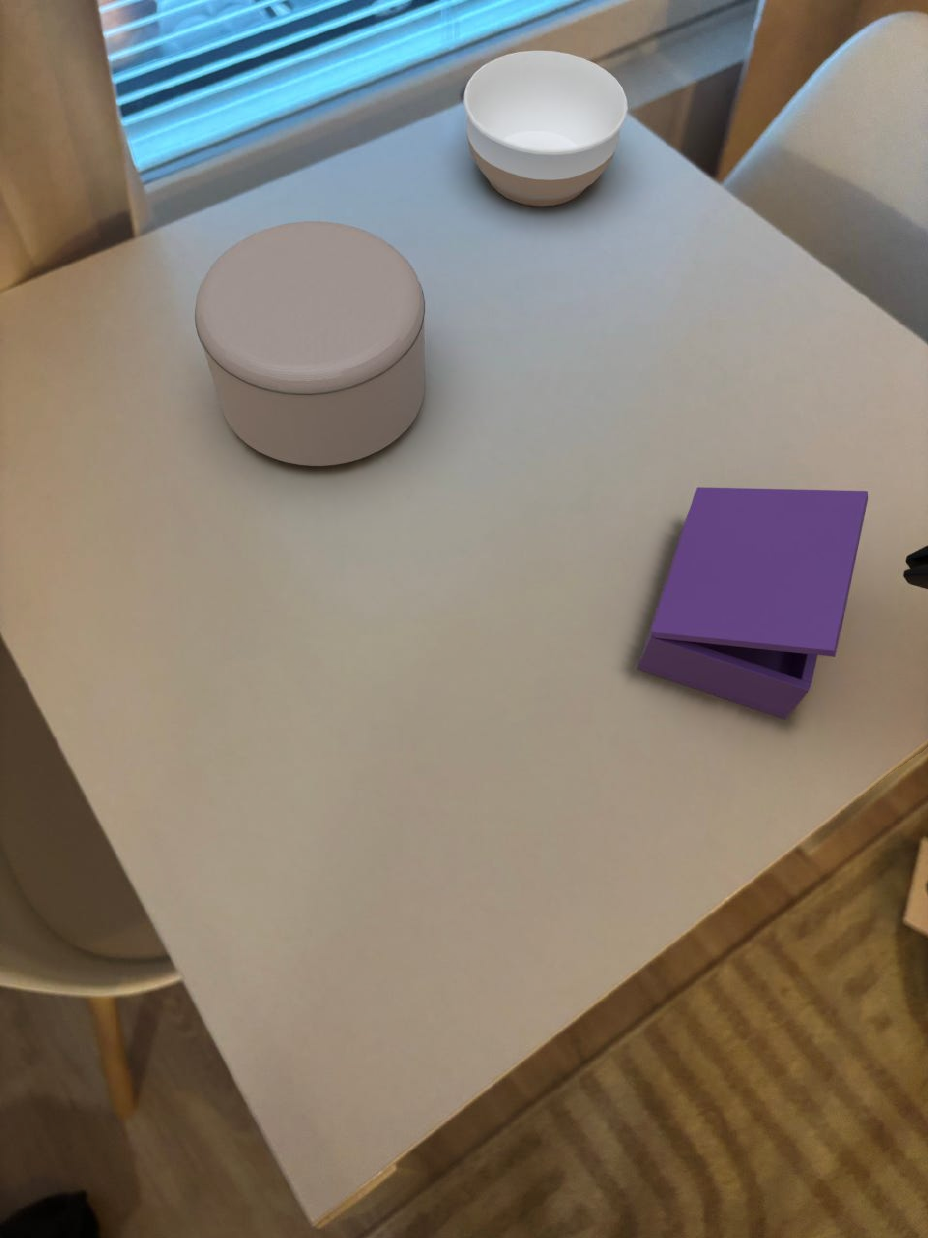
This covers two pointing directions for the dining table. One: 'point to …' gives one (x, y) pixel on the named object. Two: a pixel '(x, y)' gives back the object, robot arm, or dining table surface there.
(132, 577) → the dining table surface
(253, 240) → the container
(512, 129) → the bowl
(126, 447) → the dining table surface
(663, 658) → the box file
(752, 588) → the lid
